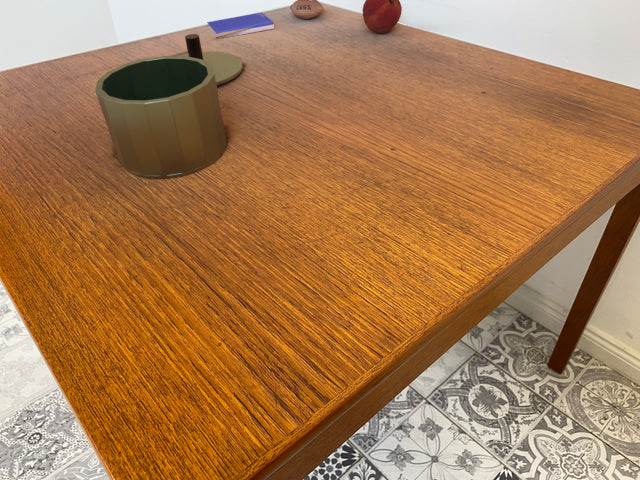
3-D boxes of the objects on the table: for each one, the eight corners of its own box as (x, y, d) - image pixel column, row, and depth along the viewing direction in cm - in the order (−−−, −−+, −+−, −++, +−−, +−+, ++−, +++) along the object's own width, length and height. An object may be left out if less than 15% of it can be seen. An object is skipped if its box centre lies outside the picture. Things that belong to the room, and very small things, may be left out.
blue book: (261, 11, 114) (206, 21, 111) (273, 21, 108) (216, 32, 105) (262, 18, 115) (207, 28, 112) (274, 29, 109) (217, 40, 106)
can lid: (177, 101, 84) (168, 61, 80) (140, 73, 94) (130, 35, 90) (259, 75, 91) (255, 36, 87) (217, 51, 101) (211, 15, 97)
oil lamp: (335, 20, 115) (316, 11, 121) (336, 0, 113) (317, -7, 118) (300, 22, 111) (282, 14, 116) (301, 2, 109) (283, -6, 114)
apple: (381, 41, 102) (383, -3, 96) (353, 32, 106) (353, -10, 101) (406, 31, 105) (409, -11, 100) (378, 23, 110) (379, -18, 105)
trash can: (145, 192, 65) (120, 115, 58) (105, 147, 74) (80, 76, 67) (245, 152, 71) (234, 79, 64) (197, 115, 80) (183, 47, 73)
